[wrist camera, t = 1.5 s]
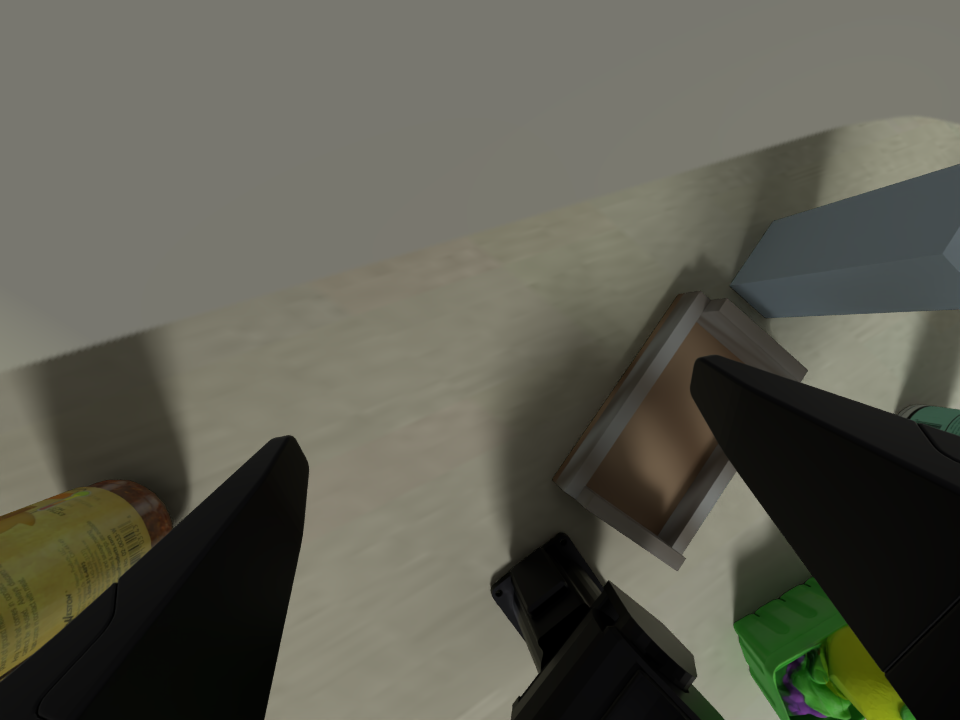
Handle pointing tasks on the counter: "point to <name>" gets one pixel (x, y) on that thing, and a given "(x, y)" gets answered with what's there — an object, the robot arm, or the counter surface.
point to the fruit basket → (814, 661)
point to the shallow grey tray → (666, 429)
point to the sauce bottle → (69, 558)
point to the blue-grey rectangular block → (862, 254)
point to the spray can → (934, 417)
